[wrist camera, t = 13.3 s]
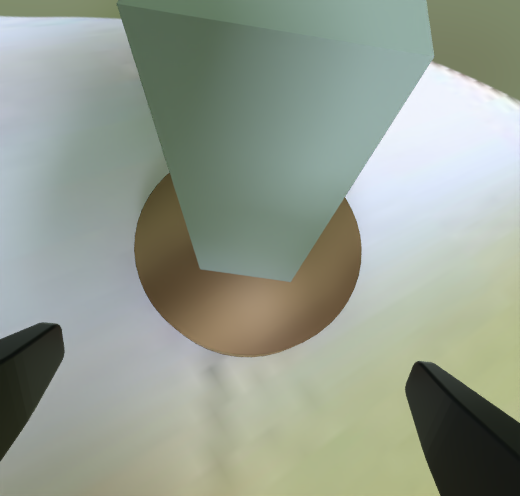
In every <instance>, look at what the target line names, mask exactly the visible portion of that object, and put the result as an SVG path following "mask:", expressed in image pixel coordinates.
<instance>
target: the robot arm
mask: <svg viewBox="0 0 520 496" xmlns="http://www.w3.org/2000/svg"><path fill="white" fill-rule="evenodd" d="M64 352H65V350H64V342H63V336H62V329H61V327H60V325H58V324H54V323H38V324H36V325H33V326H31V327H29V328H26V329H24V330H21V331H19V332H17V333H14V334H12V335H9V336H7V337H5V338H2V339H0V461H1V460H2V458H3V457H4V455H5V454H6V453H7V451H8V450H9V448H10V447H11V445H12V444H13V442H14V441H15V440H16V438H17V437H18V435H19V434H20V432H21V431H22V429H23V428H24V426H25V425H26V423H27V422H28V420H29V418H30V417H31V415H32V413H33V412H34V410H35V408H36V407H37V405H38V403H39V401H40V399H41V398H42V396H43V394H44V392H45V390H46V389H47V387H48V385H49V383H50V382H51V380H52V378H53V376H54V374H55V373H56V371H57V369H58V367H59V366H60V364H61V362H62V360H63V357H64ZM405 392H406V397H407V400H408V403H409V407H410V410H411V413H412V416H413V420H414V423H415V426H416V430H417V433H418V436H419V440H420V443H421V446H422V449H423V452H424V455H425V458H426V461H427V463H428V466H429V469H430V471H431V474H432V476H433V478H434V481H435V483H436V486H437V488H438V491H439V493H440V496H520V423H519V422H518V421H516V420H515V419H513V418H512V417H510V416H509V415H508V414H506V413H505V412H503V411H502V410H500V409H499V408H498V407H496V406H495V405H493V404H492V403H490V402H489V401H487V400H486V399H485V398H483V397H482V396H480V395H479V394H477V393H476V392H475V391H473V390H472V389H470V388H469V387H467V386H466V385H465V384H463V383H462V382H460V381H459V380H457V379H456V378H455V377H453V376H452V375H450V374H449V373H447V372H446V371H445V370H443V369H442V368H440V367H439V366H437V365H436V364H434V363H432V362H424V361H417V362H415V363H414V365H413V367H412V370H411V372H410V375H409V377H408V380H407V382H406V386H405Z"/></svg>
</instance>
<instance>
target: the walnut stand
mask: <svg viewBox="0 0 520 496" xmlns="http://www.w3.org/2000/svg"><path fill="white" fill-rule="evenodd" d="M134 252H135V262H136V267H137V271H138V275H139V279H140V281H141V284H142V286H143V288H144V291H145V293H146V295H147V296H148V298H149V300H150V301H151V303H152V305H153V306H154V307H155V308H156V310H157V311H158V312H159V313H160V314H161V316H162V317H163V318H164V319H165V320H166V321H167V322H168V323H170V324H171V325H172V326H173V327H174V328H175V329H176V330H178V331H179V332H180V333H181V334H183V335H184V336H185V337H187V338H188V339H190V340H191V341H193V342H194V343H196V344H198V345H200V346H202V347H204V348H206V349H208V350H211V351H214V352H217V353H220V354H224V355H230V356H236V357H258V356H267V355H271V354H275V353H278V352H281V351H284V350H286V349H289V348H291V347H294V346H296V345H298V344H300V343H303V342H305V341H306V340H308V339H310V338H311V337H313V336H315V335H317V334H318V333H319V332H320V331H322V330H323V329H324V328H325V327H327V326H328V325H329V324H330V323H331V322H332V321H333V320H334V319H335V318H336V317H337V316H338V315H339V314H340V312H341V311H342V309H343V308H344V306H345V305H346V304H347V302H348V300H349V298H350V296H351V294H352V292H353V290H354V288H355V285H356V282H357V279H358V276H359V271H360V265H361V239H360V233H359V229H358V225H357V221H356V219H355V216H354V214H353V211H352V209H351V207H350V205H349V204H348V202H347V200H346V198H345V197H344V199H343V201H342V202H341V204H340V205H339V207H338V208H337V210H336V212H335V213H334V215H333V216H332V218H331V219H330V221H329V223H328V224H327V226H326V227H325V229H324V230H323V232H322V234H321V235H320V237H319V238H318V240H317V241H316V243H315V245H314V246H313V248H312V249H311V251H310V252H309V254H308V256H307V257H306V259H305V260H304V262H303V263H302V265H301V267H300V268H299V270H298V271H297V273H296V274H295V276H294V278H293V279H292V281H291V282H287V281H280V280H273V279H266V278H259V277H252V276H245V275H238V274H231V273H223V272H216V271H209V270H202V269H200V267H199V264H198V261H197V258H196V255H195V251H194V248H193V245H192V242H191V239H190V236H189V232H188V229H187V226H186V223H185V220H184V216H183V213H182V210H181V207H180V204H179V200H178V197H177V194H176V191H175V188H174V185H173V181H172V178H171V175H170V173H169V174H167V175H166V176H165V177H164V178H163V179H162V180H161V181H160V183H159V184H158V185H157V186H156V187H155V189H154V190H153V191H152V193H151V194H150V196H149V197H148V199H147V201H146V203H145V205H144V207H143V209H142V211H141V214H140V217H139V220H138V223H137V228H136V233H135V245H134Z"/></svg>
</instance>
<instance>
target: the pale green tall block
mask: <svg viewBox="0 0 520 496" xmlns="http://www.w3.org/2000/svg"><path fill="white" fill-rule="evenodd" d="M117 6H118V9H119V12H120V16H121V19H122V22H123V25H124V28H125V32H126V35H127V38H128V41H129V44H130V48H131V51H132V54H133V57H134V60H135V63H136V67H137V70H138V73H139V76H140V79H141V83H142V86H143V89H144V92H145V95H146V99H147V102H148V105H149V108H150V111H151V114H152V118H153V121H154V124H155V127H156V130H157V134H158V137H159V140H160V143H161V146H162V149H163V153H164V156H165V159H166V162H167V165H168V169H169V172H170V175H171V178H172V181H173V185H174V188H175V191H176V194H177V197H178V200H179V204H180V207H181V210H182V213H183V216H184V220H185V223H186V226H187V229H188V232H189V236H190V239H191V242H192V245H193V248H194V251H195V255H196V258H197V261H198V264H199V267H200V269H202V270H209V271H216V272H223V273H231V274H238V275H245V276H252V277H259V278H266V279H273V280H280V281H287V282H291V281H292V279H293V278H294V276H295V274H296V273H297V271H298V270H299V268H300V267H301V265H302V263H303V262H304V260H305V259H306V257H307V256H308V254H309V252H310V251H311V249H312V248H313V246H314V245H315V243H316V241H317V240H318V238H319V237H320V235H321V234H322V232H323V230H324V229H325V227H326V226H327V224H328V223H329V221H330V219H331V218H332V216H333V215H334V213H335V212H336V210H337V208H338V207H339V205H340V204H341V202H342V201H343V199H344V197H345V196H346V194H347V193H348V191H349V190H350V188H351V186H352V185H353V183H354V182H355V180H356V179H357V177H358V175H359V174H360V172H361V171H362V169H363V168H364V166H365V164H366V163H367V161H368V160H369V158H370V157H371V155H372V153H373V152H374V150H375V149H376V147H377V146H378V144H379V142H380V141H381V139H382V138H383V136H384V135H385V133H386V131H387V130H388V128H389V127H390V125H391V124H392V122H393V121H394V119H395V117H396V116H397V114H398V113H399V111H400V110H401V108H402V106H403V105H404V103H405V102H406V100H407V99H408V97H409V95H410V94H411V92H412V91H413V89H414V88H415V86H416V84H417V83H418V81H419V80H420V78H421V77H422V75H423V73H424V72H425V70H426V69H427V67H428V66H429V64H430V62H431V61H432V59H433V58H434V52H433V45H432V38H431V31H430V24H429V17H428V10H427V3H426V0H118V2H117Z"/></svg>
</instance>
